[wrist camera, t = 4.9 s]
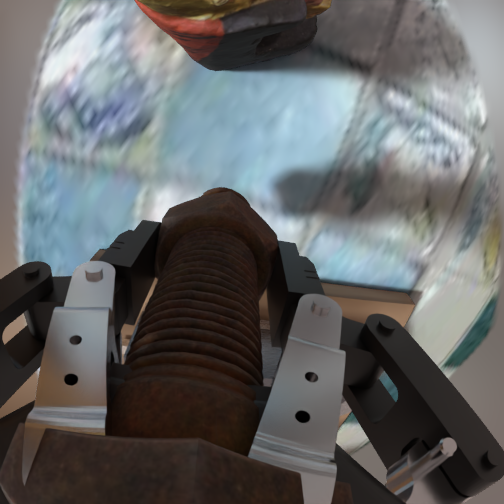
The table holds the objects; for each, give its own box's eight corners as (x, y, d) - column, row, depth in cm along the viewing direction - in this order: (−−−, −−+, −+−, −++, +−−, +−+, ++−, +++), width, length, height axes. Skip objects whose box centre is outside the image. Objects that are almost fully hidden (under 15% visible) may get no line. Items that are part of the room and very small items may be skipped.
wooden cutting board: (99, 249, 21) (88, 261, 19) (406, 292, 23) (416, 306, 21) (128, 423, 32) (124, 435, 30) (316, 442, 34) (319, 453, 32)
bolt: (265, 154, 14) (386, 563, 1) (287, 243, 17) (356, 560, 3) (156, 185, 15) (-48, 471, 2) (187, 267, 17) (117, 554, 4)
